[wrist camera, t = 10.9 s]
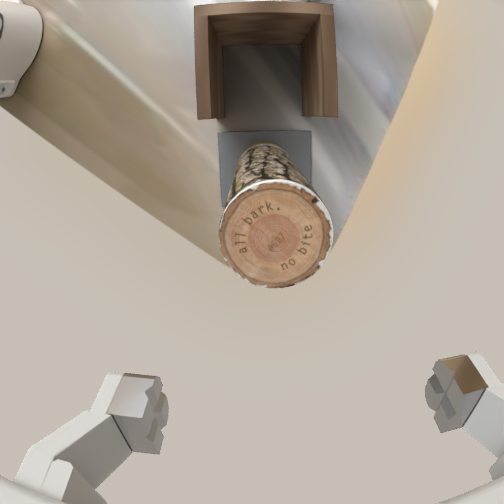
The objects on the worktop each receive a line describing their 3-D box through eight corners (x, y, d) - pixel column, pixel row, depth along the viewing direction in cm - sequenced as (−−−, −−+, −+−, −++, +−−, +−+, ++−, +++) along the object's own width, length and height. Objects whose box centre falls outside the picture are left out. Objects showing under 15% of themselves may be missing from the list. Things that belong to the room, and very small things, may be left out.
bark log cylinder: (227, 168, 42) (195, 244, 19) (261, 129, 40) (271, 155, 17) (266, 200, 44) (280, 306, 21) (300, 163, 42) (356, 233, 19)
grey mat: (222, 205, 44) (222, 206, 44) (218, 133, 40) (217, 133, 40) (309, 203, 44) (310, 204, 44) (310, 130, 40) (310, 131, 40)
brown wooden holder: (215, 118, 40) (197, 119, 27) (212, 38, 35) (194, 5, 22) (311, 116, 39) (337, 117, 27) (308, 36, 35) (332, 4, 22)
